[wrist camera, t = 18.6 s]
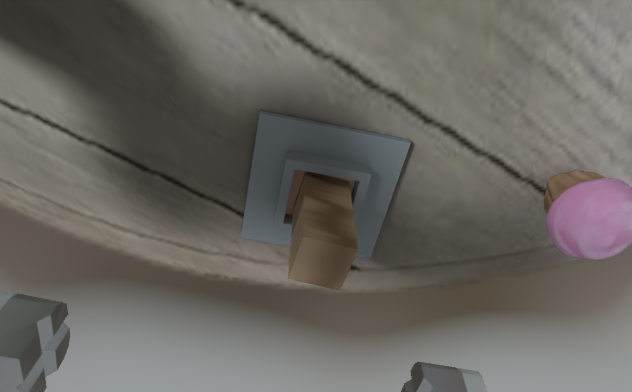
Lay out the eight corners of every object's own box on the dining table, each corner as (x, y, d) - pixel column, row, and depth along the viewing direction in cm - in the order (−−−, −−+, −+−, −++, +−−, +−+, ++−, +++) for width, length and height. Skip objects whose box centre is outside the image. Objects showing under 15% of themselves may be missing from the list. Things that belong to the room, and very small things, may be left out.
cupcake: (526, 225, 55) (565, 283, 46) (521, 164, 50) (563, 215, 42) (605, 207, 53) (660, 263, 45) (607, 142, 49) (668, 190, 40)
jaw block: (293, 206, 52) (288, 278, 42) (305, 169, 49) (303, 236, 39) (335, 217, 53) (340, 290, 43) (349, 181, 50) (358, 249, 40)
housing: (241, 233, 55) (238, 248, 53) (260, 110, 47) (257, 121, 44) (369, 254, 57) (372, 269, 54) (409, 139, 49) (414, 151, 46)
